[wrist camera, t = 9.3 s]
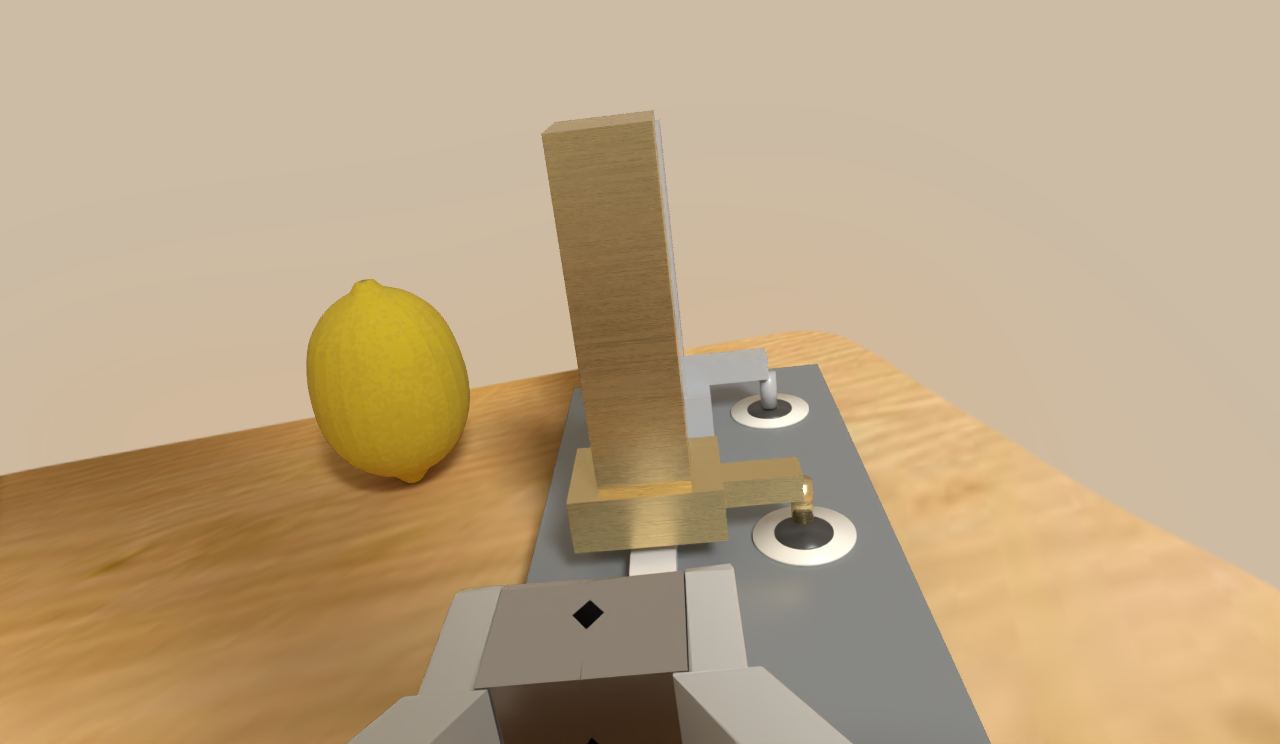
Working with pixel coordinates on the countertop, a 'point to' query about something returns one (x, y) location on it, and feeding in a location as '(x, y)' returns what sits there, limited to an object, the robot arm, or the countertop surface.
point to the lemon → (387, 381)
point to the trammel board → (794, 554)
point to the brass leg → (638, 356)
